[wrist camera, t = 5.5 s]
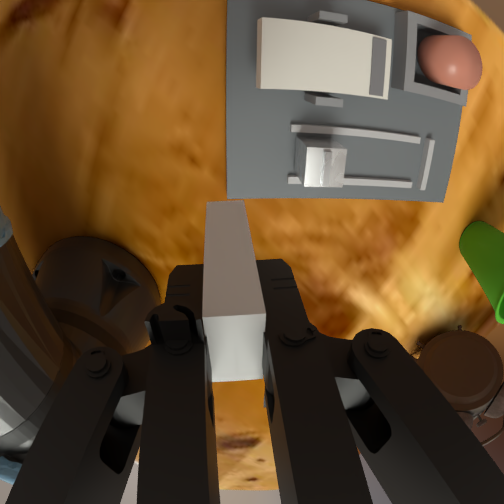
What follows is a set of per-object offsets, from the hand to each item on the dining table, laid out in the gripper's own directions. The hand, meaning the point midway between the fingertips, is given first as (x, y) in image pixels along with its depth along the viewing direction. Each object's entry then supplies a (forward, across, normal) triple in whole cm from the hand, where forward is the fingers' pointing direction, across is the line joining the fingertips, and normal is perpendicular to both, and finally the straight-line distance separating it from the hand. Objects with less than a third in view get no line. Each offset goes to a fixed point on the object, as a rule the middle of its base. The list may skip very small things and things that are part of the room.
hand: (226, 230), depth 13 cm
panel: (+14, +12, +5) cm, 19 cm away
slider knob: (+13, +7, 0) cm, 15 cm away
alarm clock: (+14, +32, -29) cm, 45 cm away
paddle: (+10, +8, +8) cm, 15 cm away
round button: (+11, +17, +10) cm, 23 cm away
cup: (+14, +30, -10) cm, 35 cm away
